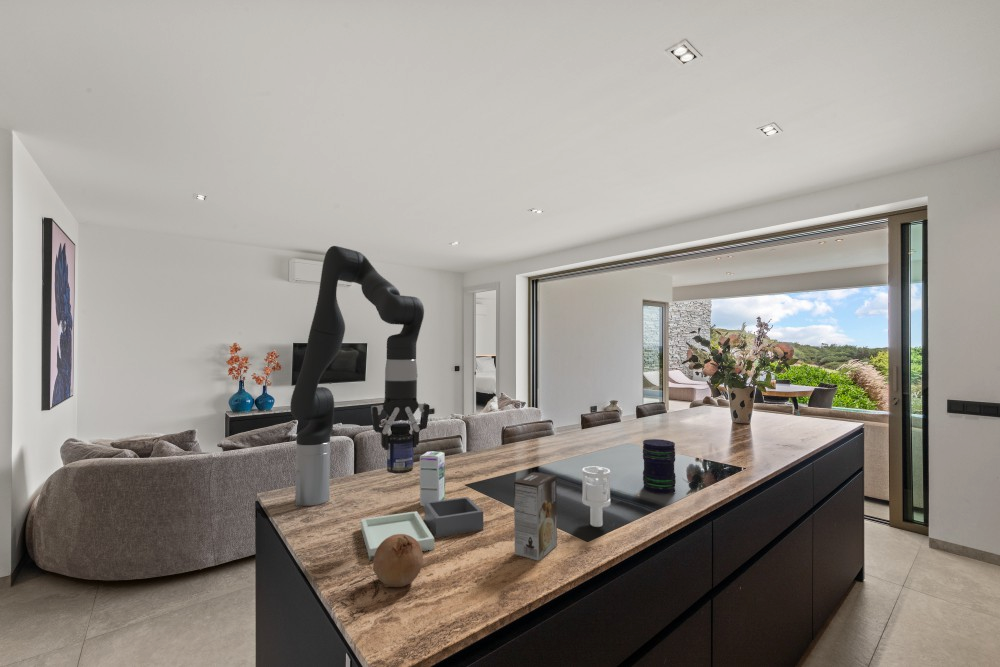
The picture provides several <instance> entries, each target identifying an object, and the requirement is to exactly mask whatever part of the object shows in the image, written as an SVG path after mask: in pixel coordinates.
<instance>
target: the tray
mask: <svg viewBox="0 0 1000 667" xmlns="http://www.w3.org/2000/svg"><path fill="white" fill-rule="evenodd" d="M360 530H361V533H362V537H363V540H364V544H365V547H366V548H365V549H366V552H367V556H368V559H369V561H370V562H373V561H372V560H373V559H374V555H375V552H376V550H377V548H378V547H379V545H380V544H381V543H382V542H383V541H384V540H385V539H386V538H388V537H390V536H392V535H396V534H405V535H409V536H411V537H413V538H414V539H415V540H416V541H417V542H418V543H419V545H420V546H421V549H422V551H424V552H428V550H429V551H434V550H435V536H434V534H433V533H432V531H431V530H430V528H429V527H428V525H427V524H426V522H425V520H423V518H422V517H421V515H420V513H419V512H418V511H409V512H403V513H402V512H401V513H396V514H388V515H382V516H375V517H368V518H361V520H360ZM433 549H434V550H433Z"/></svg>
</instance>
